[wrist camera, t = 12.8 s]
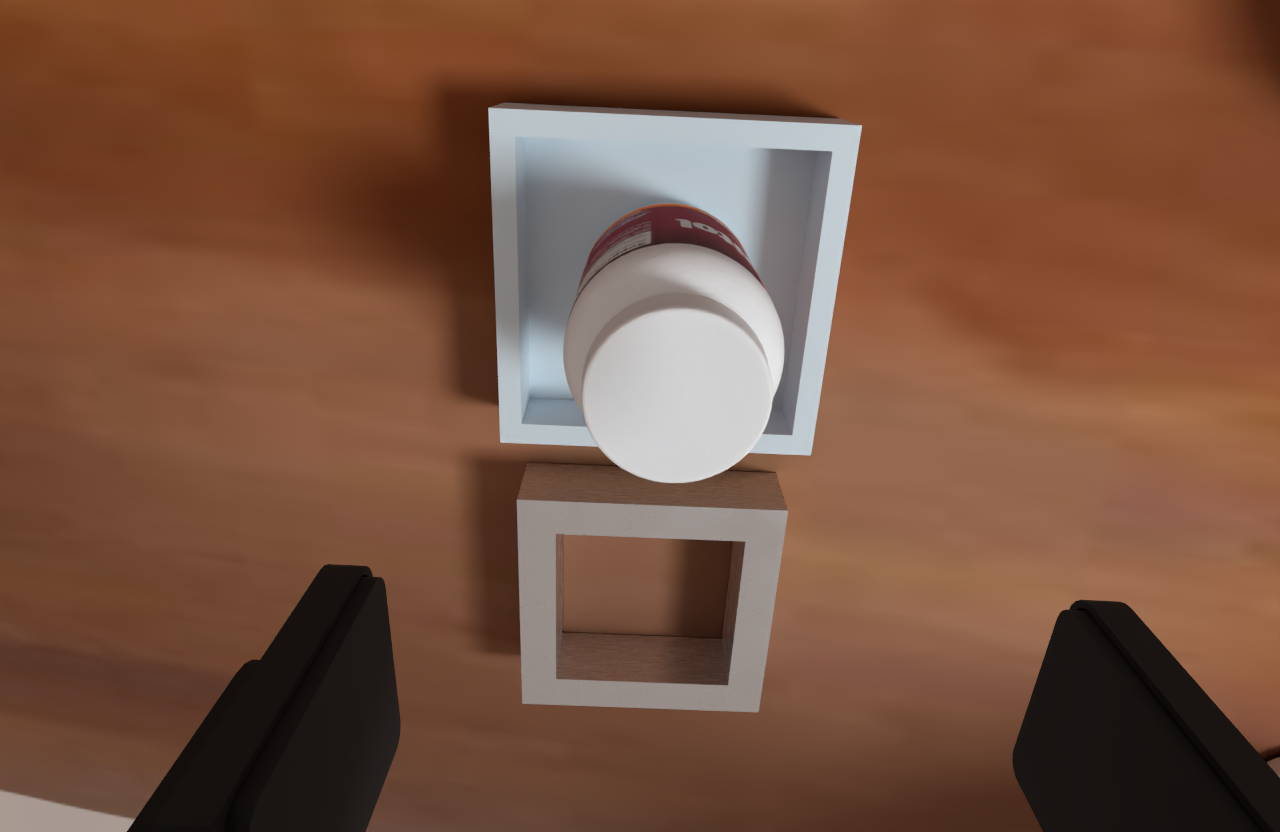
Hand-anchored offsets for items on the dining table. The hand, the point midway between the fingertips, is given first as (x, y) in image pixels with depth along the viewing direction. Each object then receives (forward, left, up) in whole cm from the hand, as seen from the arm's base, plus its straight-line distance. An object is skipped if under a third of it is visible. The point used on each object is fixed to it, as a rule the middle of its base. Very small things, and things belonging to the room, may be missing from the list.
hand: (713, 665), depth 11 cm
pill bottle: (0, 0, -20) cm, 20 cm away
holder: (-13, 0, -20) cm, 24 cm away
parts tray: (0, 0, -20) cm, 20 cm away
